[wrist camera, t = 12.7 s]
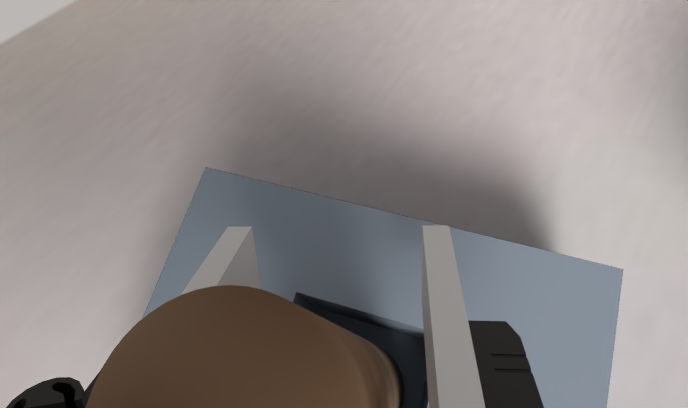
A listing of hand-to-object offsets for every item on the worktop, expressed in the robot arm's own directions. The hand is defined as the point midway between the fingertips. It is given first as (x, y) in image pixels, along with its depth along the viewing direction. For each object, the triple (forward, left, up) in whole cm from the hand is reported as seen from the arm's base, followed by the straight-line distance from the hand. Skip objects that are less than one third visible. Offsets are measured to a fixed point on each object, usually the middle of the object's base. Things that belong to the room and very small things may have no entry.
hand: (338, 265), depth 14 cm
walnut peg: (+1, -4, -8) cm, 9 cm away
